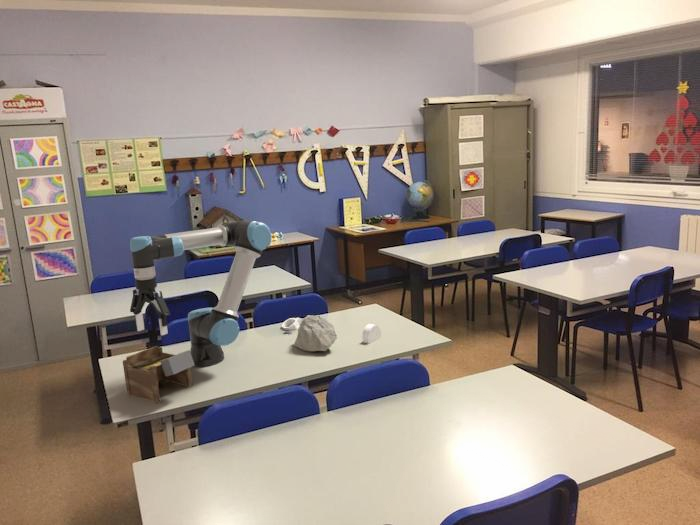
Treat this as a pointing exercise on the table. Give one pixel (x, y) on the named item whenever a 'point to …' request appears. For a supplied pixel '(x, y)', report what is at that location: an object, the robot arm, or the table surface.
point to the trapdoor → (175, 363)
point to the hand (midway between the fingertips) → (152, 332)
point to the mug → (291, 324)
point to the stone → (149, 361)
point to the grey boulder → (315, 334)
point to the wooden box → (150, 375)
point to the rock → (287, 332)
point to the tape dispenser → (371, 333)
